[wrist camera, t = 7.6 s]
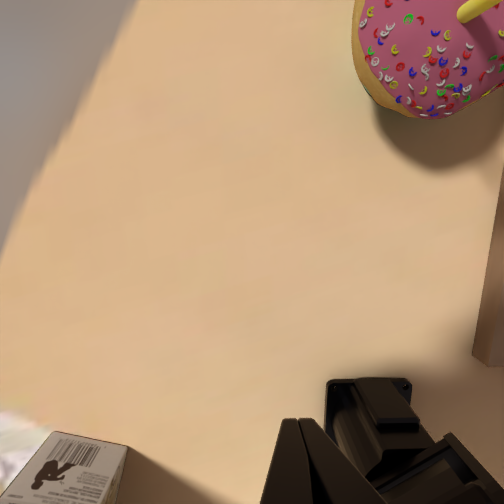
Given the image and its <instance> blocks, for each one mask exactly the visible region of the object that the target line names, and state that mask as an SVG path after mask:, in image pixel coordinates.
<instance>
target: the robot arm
mask: <svg viewBox="0 0 504 504" xmlns="http://www.w3.org/2000/svg"><path fill="white" fill-rule="evenodd" d="M404 385H406V386H404ZM332 386H335V387H334V388H331V387H332ZM403 386H404V387H403ZM411 393H412V384H411V383H410V382H409V381H408V380H407V379H405V378H393V379H388V378H372V379H341V380H330V381H328V382H327V384H326V395H325V413H324V430H323V429H322V428H321V427H320V426H319V425H318V424H317V422H316V421H315V420H314V419H312V418H299V419H298V420H297V419H296V418H285V419H283V420H282V423H281V427H280V430H279V434H278V438H277V441H276V445H275V449H274V453H273V456H272V460H271V464H270V467H269V471H268V475H267V478H266V482H265V486H264V490H263V493H262V497H261V501H260V504H504V489H503V488H502V487H501V486H500V485H499V484H498V483H497V481H496V480H495V479H494V478H493V477H492V476H491V475H490V474H489V473H488V472H487V471H486V469H485V468H484V467H483V466H482V465H481V464H480V463H479V462H478V461H477V460H476V459H475V458H474V456H473V455H472V454H471V453H470V452H469V451H468V450H467V449H466V448H465V447H464V446H463V444H462V443H461V442H460V441H459V440H458V439H457V438H456V437H455V436H454V435H453V434H452V433H451V432H450V433H448V434H446V435H445V436H443V437H444V439H442V440H440V441H438V442H437V443H435V442H434V441H433V439H432V438H431V437H430V435H429V434H428V433H427V431H426V430H425V429H424V427H423V426H422V425H421V423H420V419H419V417H418V416H417V415H416V413H415V412H414V411H413V409H412V408H411V407H410V401H411Z"/></svg>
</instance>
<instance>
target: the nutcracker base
mask: <svg viewBox="0 0 504 504" xmlns="http://www.w3.org/2000/svg"><path fill="white" fill-rule="evenodd" d="M472 356H474V357H475V358H476V359H478V360H479V361H481V362H482V363H483V364H485V365H486V366H487V367H504V168H503V174H502V180H501V186H500V192H499V198H498V204H497V210H496V216H495V222H494V227H493V233H492V239H491V245H490V251H489V257H488V263H487V269H486V275H485V281H484V287H483V293H482V298H481V304H480V310H479V316H478V322H477V328H476V334H475V340H474V346H473V352H472Z"/></svg>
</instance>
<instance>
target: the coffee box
mask: <svg viewBox="0 0 504 504" xmlns="http://www.w3.org/2000/svg"><path fill="white" fill-rule="evenodd" d="M127 449H128V448H127V447H126V446H123V445H118V444H113V443H108V442H103V441H98V440H94V439H89V438H84V437H79V436H75V435H70V434H65V433H60V432H52V433H51V434H50V435H49V437H48V438H47V439H46V440H45V442H44V443H43V444H42V445H41V447H40V448H39V449H38V450H37V452H36V453H35V454H34V455H33V457H32V458H31V459H30V460H29V461H28V463H27V464H26V465H25V466H24V468H23V469H22V470H21V471H20V473H19V474H18V475H17V476H16V477H15V479H14V480H13V481H12V482H11V483H10V485H9V486H8V487H7V489H6V490H5V491H4V492H3V493H2V495H1V496H0V504H116V499H117V494H118V490H119V486H120V481H121V477H122V472H123V467H124V463H125V458H126V454H127Z"/></svg>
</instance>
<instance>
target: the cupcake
mask: <svg viewBox="0 0 504 504" xmlns="http://www.w3.org/2000/svg"><path fill="white" fill-rule="evenodd" d="M352 54H353V60H354V65H355V69H356V72H357V75H358V77H359V79H360V81H361V82H362V84H363V86H364V88H365V89H366V91H367V92H368V93H369V94H370V95H371V96H372V98H373V99H374V100H375V101H376V102H377V103H378V104H379V105H381V106H383V107H386V108H389V109H392V110H395V111H397V112H400V113H401V114H403V115H405V116H407V117H419V118H423V119H440V118H444V117H447V116H450V115H452V114H454V113H455V112H457V111H459V110H462V109H464V108H466V107H467V106H469V105H471V104H473V103H474V102H476V101H478V100H479V99H481V98H483V97H484V96H486V95H488V94H489V93H491V92H493V91H494V90H496V89H497V88H498V87H501V86H503V85H504V0H355V4H354V10H353V18H352Z"/></svg>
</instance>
